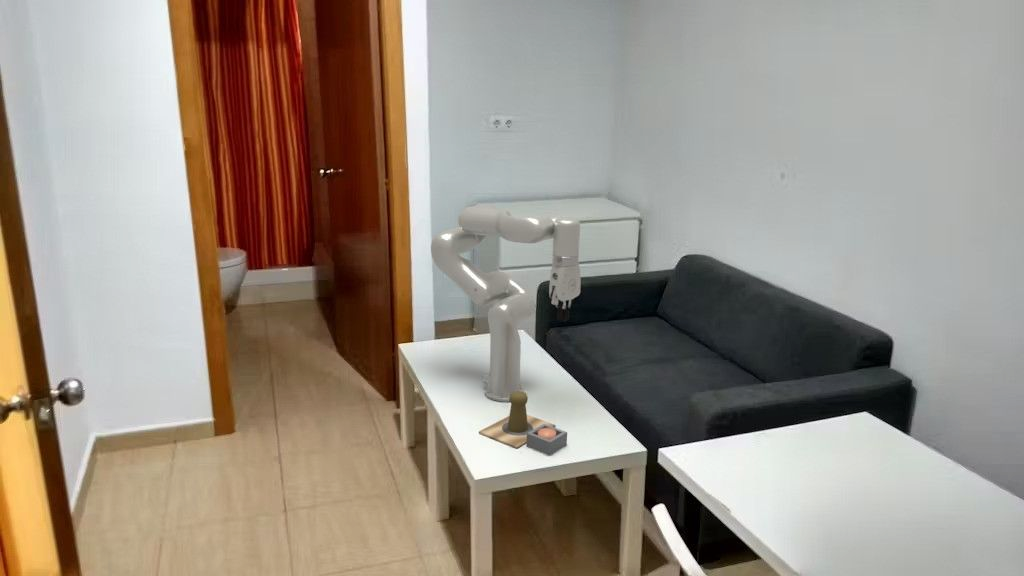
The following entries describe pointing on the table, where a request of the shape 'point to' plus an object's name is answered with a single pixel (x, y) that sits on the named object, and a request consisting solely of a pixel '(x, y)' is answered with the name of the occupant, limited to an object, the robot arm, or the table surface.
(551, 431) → the button
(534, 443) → the button housing
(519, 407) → the pepper shaker
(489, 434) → the wooden board
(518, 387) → the robot arm
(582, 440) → the table surface
